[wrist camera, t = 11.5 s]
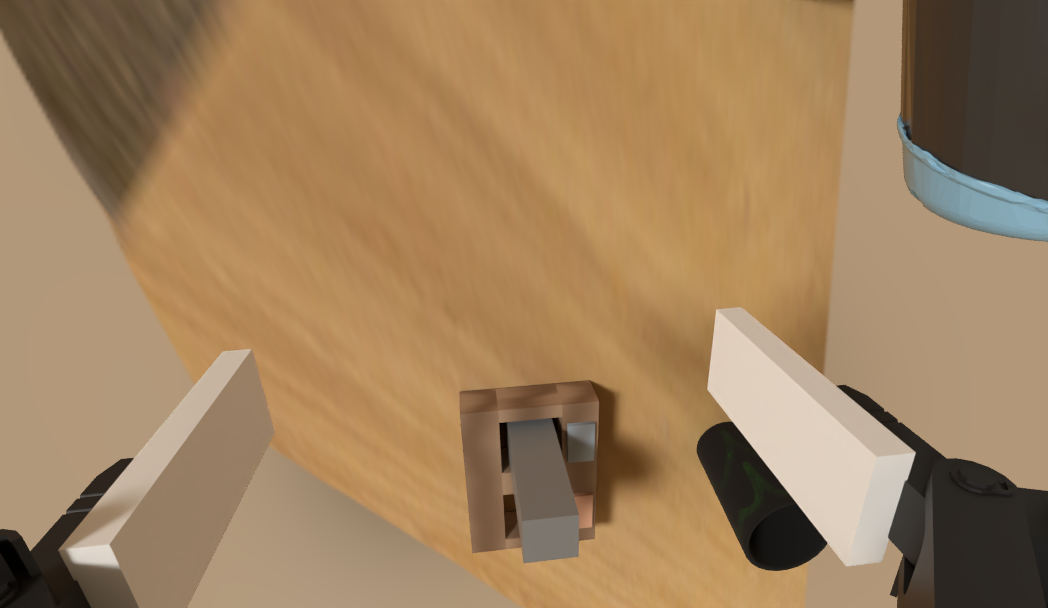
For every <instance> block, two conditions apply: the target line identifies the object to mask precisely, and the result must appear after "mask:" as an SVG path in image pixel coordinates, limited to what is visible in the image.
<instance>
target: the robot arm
mask: <svg viewBox="0 0 1048 608" xmlns="http://www.w3.org/2000/svg"><path fill="white" fill-rule="evenodd" d="M901 79H902V80H901V113H900V115H899V117H898V119H897V120H898V121H897V129H898V133H899V136H900V138H901V140H902V144H903V165H904V178H905V181H906V185H907V187H908V189H909V191H910V192H911V194H912V195H913V196H914V197H915V198H917V199H918V200H919V201H921V202H922V204H923V205H924V207H925V208H927V209H928V210H930V211H931V212H933V213H935V214H937V215H938V216H940V217H942V218H944V219H946V220H949V221H951V222H954V223H956V224H959V225H962V226H965V227H968V228H971V229H975V230H979V231H983V232H987V233H992V234H997V235H1001V236H1006V237H1012V238H1019V239H1027V240H1035V241H1046V242H1048V0H903V25H902V77H901ZM707 390H708V391H709V392H710V393H711V395H712V396H713V397H714V399H715V400H716V401H717V402H718V404H719V405H720V406H721V407H722V409H723V410H724V411H725V413H726V414H727V415H728V416H729V418H730V419H731V420H732V422H733V423H734V424H735V425H736V427H737V428H738V429H739V430H740V432H741V433H742V434H743V436H744V437H745V438H746V439H747V441H748V442H749V443H750V444H751V446H752V447H753V448H754V450H755V451H756V452H757V453H758V455H759V456H760V457H761V458H762V460H763V461H764V462H765V464H766V465H767V466H768V467H769V469H770V470H771V471H772V472H773V474H774V475H775V476H776V478H777V479H778V480H779V481H780V483H781V484H782V485H783V486H784V488H785V489H786V490H787V492H788V493H789V494H790V495H791V497H792V498H793V499H794V501H795V502H796V503H797V504H798V506H799V507H800V508H801V509H802V511H803V512H804V513H805V515H806V516H807V517H808V518H809V520H810V521H811V522H812V523H813V525H814V526H815V527H816V529H817V530H818V531H819V532H820V534H821V535H822V536H823V537H824V539H825V540H826V541H827V543H828V544H829V545H830V546H831V548H832V549H833V550H834V551H835V553H836V554H837V555H838V557H839V558H840V559H841V560H842V562H843V563H844V564H845V565H846V566H854V565H861V564H869V563H877V562H882V559H883V556H884V553H885V550H886V547H887V543H888V540H889V539H890V540H891V541H892V543H894V544H895V546H896V547H897V548H898V549H899V550H900V551H901V552H902V553H903V557H902V560H901V563H900V566H899V569H898V572H897V575H896V578H895V581H894V584H893V587H892V590H891V593H890V595H892V596H894V597H897V595H898V600H897V608H1048V491H1042V490H1034V489H1026V488H1017V487H1016V485H1015V484H1014V483H1012V482H1011V481H1010V480H1009V479H1008V478H1006V477H1005V476H1004V475H1002V474H1000V473H999V472H997V471H995V470H993V469H991V468H989V467H987V466H984V465H981V464H978V463H976V462H973V461H968V460H962V459H957V458H955V459H946V458H945V457H944V456H943V455H941V454H940V453H939V452H938V451H936V450H935V449H934V448H932V447H931V446H930V445H929V444H928V443H926V442H925V441H924V440H922V439H921V438H920V437H919V436H918V435H916V434H915V433H914V432H912V431H911V430H910V429H909V428H907V427H906V426H905V425H904V424H902V423H898V421H897V419H896V418H895V417H893V416H892V415H891V414H890V413H888V412H885V411H884V409H883V408H882V407H881V406H880V405H878V404H877V403H876V402H875V401H873V400H872V399H871V398H870V397H868V396H867V395H865V394H863V393H860V392H859V391H857V390H854V389H852V388H850V387H848V386H846V385H839V386H835V385H834V384H833V383H832V382H831V381H829V380H828V379H827V378H826V377H825V376H823V375H822V374H821V373H820V372H819V371H817V370H816V369H815V368H814V367H813V366H811V365H810V364H809V363H808V362H807V361H805V360H804V359H803V358H802V357H801V356H799V355H798V354H797V353H796V352H795V351H793V350H792V349H791V348H790V347H789V346H787V345H786V344H785V343H784V342H783V341H781V340H780V339H779V338H778V337H777V336H775V335H774V334H773V333H772V332H771V331H769V330H768V329H767V328H766V327H765V326H763V325H762V324H761V323H760V322H759V321H757V320H756V319H755V318H754V317H753V316H751V315H750V314H749V313H748V312H747V311H745V310H744V309H743V308H742V307H738V308H726V309H716V317H715V326H714V335H713V344H712V353H711V361H710V370H709V379H708V388H707ZM274 433H275V431H274V427H273V423H272V420H271V416H270V412H269V409H268V405H267V401H266V398H265V394H264V390H263V387H262V383H261V379H260V376H259V372H258V368H257V365H256V361H255V357H254V354H253V350H252V349H246V350H234V351H223V352H222V353H221V354H220V355H219V357H218V358H217V359H216V360H215V361H214V363H213V364H212V365H211V366H210V368H209V369H208V370H207V371H206V372H205V374H204V375H203V376H202V377H201V378H200V380H199V381H198V382H197V383H196V384H195V386H194V387H193V388H192V390H190V392H189V393H188V394H187V395H186V396H185V398H184V399H183V400H182V401H181V403H180V404H179V405H178V406H177V407H176V409H175V410H174V411H173V412H172V413H171V415H170V416H169V417H168V418H167V419H166V421H165V422H164V423H163V424H162V426H161V427H160V428H159V429H158V430H157V432H156V433H155V434H154V435H153V436H152V438H151V439H150V440H149V441H148V442H147V444H146V445H145V446H144V447H143V448H142V450H141V451H140V452H139V453H138V454H137V456H136V457H135V458H127V459H121V460H119V461H118V462H116V463H115V464H114V465H112V466H111V467H109V468H108V469H106V470H105V471H104V472H102V473H101V474H99V475H98V476H97V477H96V478H95V479H94V480H93V481H92V482H91V484H90V485H89V486H88V487H87V488H86V489H85V490H84V491H83V493H82V494H81V495H80V499H77V500H75V502H74V503H73V504H72V505H71V506H70V507H69V508H68V509H67V511H66V512H67V513H66V515H62V516H61V518H60V519H59V520H58V521H57V522H56V523H55V524H54V525H53V526H52V528H51V529H50V530H49V531H48V532H47V533H46V534H45V536H44V537H43V538H42V539H41V540H40V541H39V542H38V544H37V545H36V546H35V547H34V548H33V549H32V550H31V551H29V549H28V547H27V545H26V543H25V541H24V540H23V538H22V536H21V535H20V534H19V533H18V532H17V531H14V530H5V529H1V530H0V608H187V607H188V605H189V602H190V601H191V599H192V597H193V595H194V593H195V591H196V589H197V587H198V585H199V583H200V581H201V579H202V577H203V575H204V573H205V571H206V569H207V567H208V565H209V563H210V561H211V559H212V557H213V555H214V553H215V551H216V549H217V547H218V545H219V543H220V540H221V539H222V537H223V535H224V532H225V531H226V529H227V527H228V525H229V523H230V521H231V519H232V517H233V515H234V513H235V511H236V509H237V507H238V505H239V503H240V501H241V499H242V497H243V495H244V493H245V491H246V489H247V487H248V485H249V483H250V481H251V479H252V477H253V475H254V473H255V471H256V469H257V467H258V465H259V463H260V461H261V459H262V457H263V455H264V453H265V451H266V449H267V447H268V445H269V443H270V441H271V439H272V437H273V435H274Z"/></svg>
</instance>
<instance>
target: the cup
mask: <svg viewBox="0 0 1048 608" xmlns="http://www.w3.org/2000/svg"><path fill="white" fill-rule="evenodd" d="M697 454H698V457H699V459H700V461H701V463H702V466H703V468H704V470H705V472H706V474H707V476H708V478H709V480H710V482H711V484H712V486H713V489H714V491H715V493H716V495H717V497H718V499H719V501H720V503H721V505H722V507H723V509H724V511H725V514H726V516H727V518H728V520H729V522H730V524H731V526H732V528H733V530H734V532H735V534H736V537H737V539H738V541H739V543H740V545H741V547H742V549H743V551H744V553H745V555H746V557H747V559H748V560H749V561H750V562H751V563H752V564H753V565H755V566H757V567H758V568H761V569H765V570H771V571H781V570H788V569H791V568H794V567H798V566H800V565H802V564H804V563H806V562H808V561H809V560H811V559H812V558H814V557H815V556H817V555H818V554H819V553H820V551H822V550H823V549H824V548H825V546H826V545H827V541H826V540H825V539H824V537H823V536H822V535H821V534H820V532H819V531H818V530H817V529H816V527H815V526H814V525H813V523H812V522H811V521H810V520H809V518H808V517H807V516H806V515H805V513H804V512H803V511H802V509H801V508H800V507H799V506H798V504H797V503H796V502H795V501H794V499H793V498H792V497H791V495H790V494H789V493H788V492H787V490H786V489H785V488H784V486H783V485H782V484H781V483H780V481H779V480H778V479H777V478H776V476H775V475H774V474H773V472H772V471H771V470H770V469H769V467H768V466H767V465H766V464H765V462H764V461H763V460H762V458H761V457H760V456H759V455H758V453H757V452H756V451H755V450H754V448H753V447H752V446H751V444H750V443H749V442H748V441H747V439H746V438H745V437H744V436H743V434H742V433H741V432H740V430H739V429H738V428H737V427H736V425H735V424H734V423H733V422H723V423H720V424H716V425H715V426H713V427H711V428H709V429H708V430H707V431H706V432H705V433H704V434H703V435H702V436H701V438H700V440H699V441H698V445H697Z"/></svg>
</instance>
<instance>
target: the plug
mask: <svg viewBox="0 0 1048 608" xmlns="http://www.w3.org/2000/svg"><path fill="white" fill-rule="evenodd" d="M506 442H507V449H508V456H509V463H510V470H511V477H512V484H513V491H514V498H515V505H516V512H517V519H518V526H519V533H520V540H521V547H522V554H523V562H524V563H530V562H538V561H546V560H555V559H563V558H571V557H578V551H579V513H578V509H577V505H576V502H575V498H574V495H573V491H572V488H571V484H570V481H569V477H568V473H567V470H566V466H565V463H564V459H563V456H562V452H561V449H560V445H559V442H558V438H557V434H556V431H555V427H554V424H553V420H552V418H546V419H535V420H525V421H514V422H506Z"/></svg>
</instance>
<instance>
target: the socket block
mask: <svg viewBox="0 0 1048 608" xmlns="http://www.w3.org/2000/svg"><path fill="white" fill-rule="evenodd" d="M546 418H555V431H556V434H557V438H558V442H559V445H560V449H561V452H562V456H563V459H564V463H565V466H566V470H567V473H568V477H569V481H570V484H571V488H572V491H573V495H574V498H575V502H576V505H577V509H578V513H579V541H580V540H589V539H595V512H596V482H597V452H598V422H599V400H598V398H597V395H596V393H595V391H594V389H593V386H592V384H591V382H590V380H589V381H577V382H566V383H554V384H543V385H531V386H520V387H508V388H497V389H485V390H474V391H463V392H460V420H461V431H462V442H463V453H464V465H465V476H466V487H467V498H468V509H469V521H470V532H471V543H472V553H477V552H486V551H494V550H503V549H512V548H520V547H521V540H520V533H519V526H518V519H517V512H516V511H511V512H504V503H503V495H508V494H514V491H513V484H512V477H511V470H510V463H509V456H508V449H507V448H501V449H500V431H499V423H503V422H514V421H525V420H535V419H546Z"/></svg>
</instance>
